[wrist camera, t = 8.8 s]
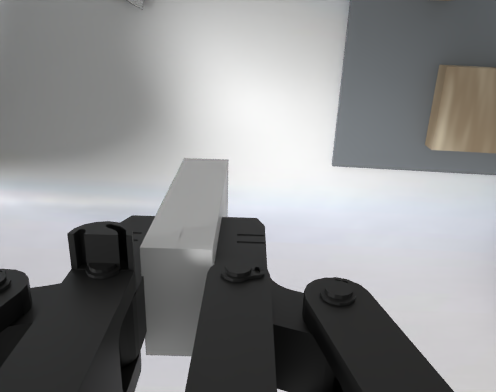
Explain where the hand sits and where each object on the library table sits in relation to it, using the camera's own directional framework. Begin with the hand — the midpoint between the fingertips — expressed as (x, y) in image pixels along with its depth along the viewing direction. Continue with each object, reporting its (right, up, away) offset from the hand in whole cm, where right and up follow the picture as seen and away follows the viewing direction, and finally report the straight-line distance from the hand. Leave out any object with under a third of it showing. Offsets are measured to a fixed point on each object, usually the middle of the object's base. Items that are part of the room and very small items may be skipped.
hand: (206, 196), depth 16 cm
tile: (+18, +8, +24) cm, 30 cm away
